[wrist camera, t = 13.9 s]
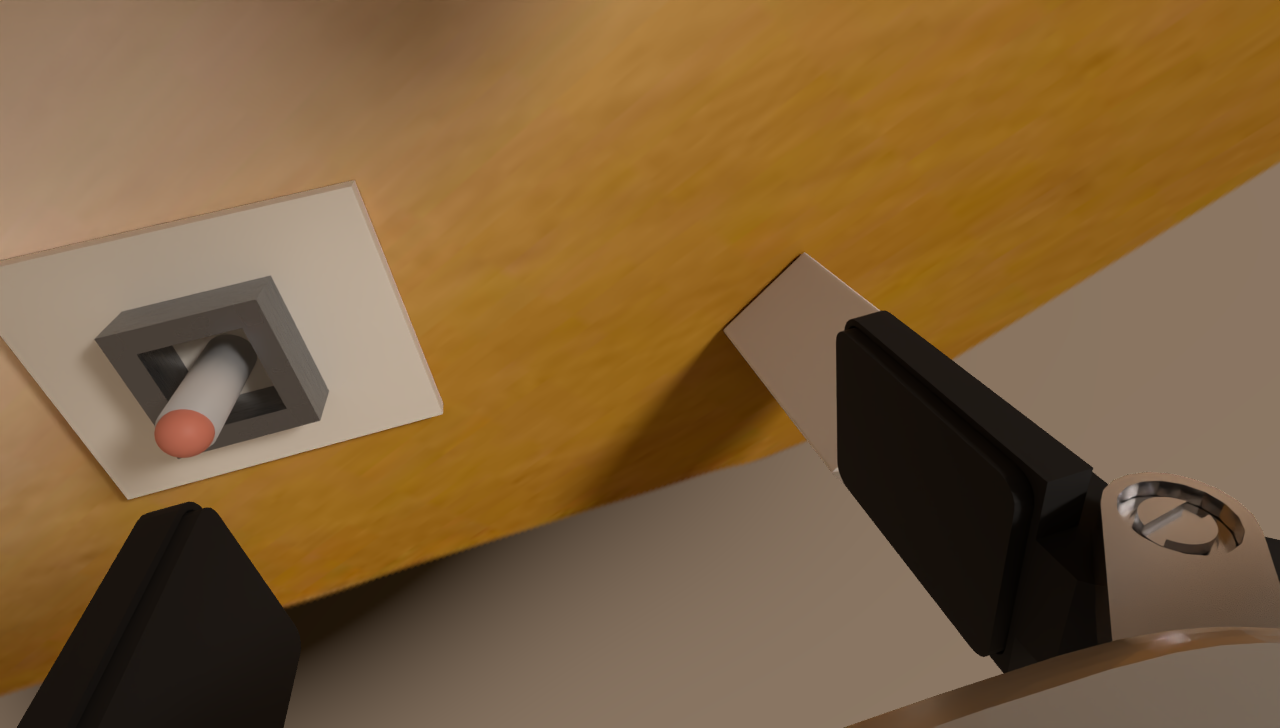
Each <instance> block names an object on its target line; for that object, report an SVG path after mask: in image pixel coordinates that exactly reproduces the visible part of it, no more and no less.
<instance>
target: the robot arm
mask: <svg viewBox="0 0 1280 728" xmlns="http://www.w3.org/2000/svg"><path fill="white" fill-rule="evenodd" d="M836 398H837V465H838V470H839V473H840V476H841V479H842V481H843V483H844V484H845V486H846V487H847V488H848V490H849V491H850V492H851V494H852V495H853V496H854V497H855V499H856V500H857V501H858V502H859V504H860V505H861V506H862V508H863V509H864V510H865V511H866V513H867V514H868V515H869V517H870V518H871V519H872V521H874V523H875V525H876V526H877V527H878V528H879V530H880V531H881V532H882V534H883V535H884V536H885V537H886V539H887V540H888V541H889V542H890V544H891V545H892V546H893V548H894V549H895V550H896V552H897V553H898V554H899V555H900V557H901V558H902V559H903V561H904V562H905V563H906V564H907V566H908V567H909V568H910V570H911V571H912V572H913V573H914V575H915V576H916V577H917V579H918V580H919V581H920V582H921V584H922V585H923V586H924V588H925V589H926V590H927V592H928V593H929V594H930V595H931V597H932V598H933V599H934V601H935V602H936V603H937V604H938V606H939V607H940V608H941V610H942V611H943V612H944V614H945V615H946V616H947V617H948V619H949V620H950V621H951V622H952V624H953V625H954V626H955V627H956V629H957V630H958V632H959V633H960V634H961V635H962V637H963V638H964V639H965V641H966V642H967V643H968V644H969V646H970V647H971V648H972V649H973V650H974V651H975V652H976V653H977V654H979V655H980V656H983V657H985V656H988V655H990V657H991V658H992V659H993V660H994V662H995V663H996V664H997V666H998V667H999V668H1000V669H1001V670H1002V672H1003V673H1004V674H1001V675H998V676H995V677H992V678H989V679H985V680H983V681H979V682H976V683H973V684H971V685H967V686H964V687H961V688H958V689H955V690H952V691H949V692H946V693H943V694H939V695H937V696H934V697H931V698H928V699H925V700H922V701H919V702H916V703H913V704H911V705H908V706H905V707H902V708H899V709H896V710H893V711H890V712H887V713H884V714H882V715H879V716H876V717H873V718H870V719H867V720H864V721H861V722H858V723H856V724H853V725H850V726H847V727H844V728H1280V540H1277V539H1272V538H1267V537H1265V536H1264V533H1263V530H1262V529H1261V527H1260V525H1259V524H1258V522H1257V520H1256V518H1255V517H1254V515H1253V514H1252V513H1251V512H1250V511H1249V510H1248V509H1246V508H1245V507H1244V506H1243V505H1242V504H1241V503H1240V502H1239V501H1238V500H1236V499H1234V498H1233V497H1231V496H1229V495H1228V494H1226V493H1224V492H1223V491H1221V490H1219V489H1218V488H1215V487H1212V486H1210V485H1208V484H1205V483H1203V482H1200V481H1198V480H1195V479H1192V478H1187V477H1183V476H1179V475H1174V474H1170V473H1156V472H1142V473H1134V474H1127V475H1124V476H1122V477H1120V478H1117V479H1115V480H1113V481H1112V482H1110V484H1109V485H1108V484H1107V483H1106V482H1104V481H1103V480H1102V479H1100V478H1099V477H1098V476H1097V475H1095V474H1094V473H1093V472H1092V470H1093V467H1091V466H1090V465H1089V464H1087V463H1086V462H1085V461H1083V460H1082V459H1081V458H1080V457H1078V456H1077V455H1076V454H1074V453H1073V452H1072V451H1070V450H1069V449H1068V448H1066V447H1065V446H1064V445H1063V444H1061V443H1060V442H1058V441H1057V440H1056V439H1054V438H1053V437H1052V436H1051V435H1049V434H1048V433H1047V432H1045V431H1044V430H1043V429H1042V428H1040V427H1039V426H1037V425H1036V424H1035V423H1034V422H1032V421H1031V420H1030V419H1028V418H1027V417H1026V416H1024V415H1023V414H1022V413H1021V412H1019V411H1018V410H1016V409H1015V408H1014V407H1013V406H1011V405H1010V404H1009V403H1007V402H1006V401H1005V400H1003V399H1002V398H1001V397H1000V396H998V395H997V394H996V393H994V392H993V391H992V390H990V389H989V388H987V387H986V386H985V385H984V384H982V383H981V382H980V381H979V380H977V379H976V378H975V377H973V376H972V375H971V374H969V373H968V372H967V371H965V370H964V369H963V368H962V367H960V366H959V365H958V364H956V363H955V362H954V361H952V360H951V359H950V358H948V357H947V356H946V355H945V354H943V353H942V352H941V351H939V350H938V349H937V348H935V347H934V346H933V345H931V344H930V343H929V342H927V341H926V340H925V339H924V338H922V337H921V336H920V335H918V334H917V333H916V332H914V331H913V330H912V329H910V328H909V327H908V326H906V325H905V324H904V323H903V322H901V321H900V320H899V319H897V318H896V317H895V316H893V315H892V314H891V313H889V312H887V311H878V312H875V313H871V314H868V315H864V316H860V317H857V318H853V319H850V320H848V321H847V322H846V325H845V329H844V331H841V332H839V333H838V334H837V337H836ZM300 651H301V642H300V636H299V633H298V630H297V628H296V626H295V624H294V623H293V622H292V620H291V619H290V617H289V616H288V614H287V613H286V611H285V610H284V609H283V607H282V606H281V604H280V603H279V601H278V600H277V598H276V597H275V596H274V594H273V593H272V591H271V590H270V588H269V587H268V585H267V584H266V583H265V581H264V580H263V578H262V577H261V575H260V574H259V572H258V571H257V570H256V568H255V567H254V565H253V564H252V562H251V561H250V559H249V558H248V557H247V555H246V554H245V552H244V551H243V549H242V548H241V546H240V545H239V543H238V542H237V541H236V539H235V538H234V536H233V535H232V533H231V532H230V530H229V529H228V528H227V526H226V525H225V523H224V522H223V520H222V519H221V517H220V516H219V515H218V513H217V512H216V511H215V510H213V509H212V508H203V509H202V507H201V506H200V505H198V504H196V503H194V502H186V503H182V504H179V505H175V506H171V507H168V508H164V509H160V510H157V511H153V512H150V513H147V514H145V515H142V516H141V517H140V519H139V520H138V521H137V523H136V524H135V526H134V528H133V529H132V531H131V533H130V535H129V536H128V538H127V540H126V541H125V543H124V545H123V547H122V548H121V550H120V552H119V553H118V555H117V557H116V559H115V560H114V562H113V564H112V565H111V567H110V569H109V571H108V572H107V574H106V576H105V577H104V579H103V581H102V583H101V584H100V586H99V588H98V589H97V591H96V593H95V595H94V596H93V598H92V600H91V601H90V603H89V605H88V607H87V608H86V610H85V612H84V613H83V615H82V617H81V619H80V620H79V622H78V624H77V625H76V627H75V629H74V631H73V632H72V634H71V636H70V637H69V639H68V641H67V643H66V644H65V646H64V648H63V649H62V651H61V653H60V654H59V656H58V658H57V660H56V661H55V663H54V665H53V666H52V668H51V670H50V672H49V673H48V675H47V677H46V678H45V680H44V682H43V684H42V685H41V687H40V689H39V690H38V692H37V694H36V696H35V697H34V699H33V701H32V702H31V704H30V706H29V708H28V709H27V711H26V713H25V715H24V716H23V718H22V720H21V721H20V723H19V725H18V726H17V728H283V727H284V722H285V719H286V714H287V710H288V705H289V701H290V696H291V692H292V688H293V683H294V679H295V675H296V670H297V665H298V661H299V657H300Z"/></svg>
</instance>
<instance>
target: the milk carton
mask: <svg viewBox="0 0 1280 728" xmlns="http://www.w3.org/2000/svg"><path fill="white" fill-rule="evenodd" d="M878 311H880V310H879V309H877V308H876V307H875V306H873V305H872V304H871V303H870V302H868V301H867V300H866V299H864V298H863V297H862V296H861V295H859V294H858V293H857V292H855V291H854V290H853V289H852V288H850V287H849V286H848V285H846V284H845V283H844V282H843V281H841V280H840V279H839V278H837V277H836V276H835V275H834V274H832V273H831V272H830V271H828V270H827V269H826V268H825V267H823V266H822V265H821V264H819V263H818V262H817V261H816V260H814V259H813V258H812V257H810V256H809V255H808V254H806V253H803V254H802V255H801V256H800V257H798V258H797V259H796V260H795V261H794V262H793V263H792V264H791V265H790V266H789V267H788V268H787V269H786V270H785V271H784V272H783V273H782V274H781V275H780V276H779V277H778V278H777V279H776V280H774V281H773V282H772V283H771V284H770V285H769V286H768V287H767V288H766V289H765V290H764V291H763V292H762V293H761V294H760V295H759V296H758V297H757V298H756V299H755V300H754V301H753V302H752V303H751V304H750V305H748V306H747V307H746V308H745V309H744V310H743V311H742V312H741V313H740V314H739V315H738V316H737V317H736V318H735V319H734V320H733V321H732V322H731V323H730V324H729V325H728V326H727V327H726V328H725V329H724V330H723V331H724V333H725V334H726V335H727V337H728V338H729V339H730V340H731V342H732V343H733V344H734V346H735V347H736V348H737V350H738V351H739V352H740V354H741V355H742V356H743V357H744V359H745V360H746V361H747V363H748V364H749V365H750V367H751V368H752V369H753V370H754V372H755V373H756V374H757V376H758V377H759V378H760V380H761V381H762V382H763V384H764V385H765V386H766V387H767V389H768V390H769V391H770V393H771V394H772V395H773V397H774V398H775V399H776V400H777V402H778V403H779V404H780V406H781V407H782V408H783V410H784V411H785V412H786V414H787V415H788V416H789V417H790V419H791V420H792V421H793V423H794V424H795V425H796V427H797V428H798V429H799V431H800V432H801V433H802V434H803V436H804V437H805V438H806V440H807V441H808V442H809V444H810V445H811V446H812V447H813V449H814V450H815V451H816V452H817V454H818V455H819V456H820V458H821V459H822V460H823V462H824V463H825V464H826V466H827V467H828V468H829V470H830V471H831V472H832V473H833V475H835V476H836V477H837V478H838V479H839V480H840V481H841V482H842V483H843V481H842V479H841V476H840V473H839V470H838V465H837V398H836V337H837V334H838V333H839V332H841V331H844V329H845V325H846V322H847V321H848V320H850V319H853V318H857V317H860V316H864V315H868V314H871V313H875V312H878Z"/></svg>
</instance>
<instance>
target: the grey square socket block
mask: <svg viewBox="0 0 1280 728" xmlns="http://www.w3.org/2000/svg"><path fill="white" fill-rule="evenodd" d="M240 328H242V329H243V331H244V332H245V334H246V336H247V338H248V340H249V341H250V343H251V345H252V347H253V349H254V350H255V352H256V354H257V356H258V358H259V359H260V361H261V363H262V365H263V367H264V369H265V370H266V372H267V374H268V376H269V378H270V379H271V381H272V383H273V385H274V386H270V387H267V388H263V389H259V390H255V391H251V392H247V393H244V394H240V395H239V397H238V399H237V401H236V403H235V405H234V406H233V408H232V410H231V412H230V414H229V416H228V418H227V420H226V422H225V424H224V426H223V428H222V430H221V432H220V434H219V436H218V438H217V439H216V441H215V442H214V444H213V445H211V446H210V447H209V448H207V449H206V450H205V451H204V452H206V451H210V450H214V449H217V448H221V447H225V446H228V445H232V444H236V443H240V442H243V441H247V440H251V439H254V438H258V437H262V436H265V435H269V434H273V433H277V432H280V431H284V430H288V429H291V428H295V427H299V426H303V425H306V424H310V423H314V422H317V421H320V420H321V417H322V413H323V410H324V407H325V403H326V400H327V397H328V393H329V390H328V388H327V386H326V384H325V382H324V380H323V378H322V376H321V374H320V372H319V370H318V368H317V366H316V364H315V362H314V360H313V358H312V356H311V354H310V352H309V350H308V348H307V346H306V344H305V342H304V340H303V338H302V336H301V334H300V332H299V330H298V328H297V326H296V324H295V322H294V320H293V318H292V316H291V314H290V312H289V310H288V308H287V306H286V305H285V303H284V301H283V299H282V297H281V295H280V293H279V291H278V289H277V287H276V285H275V283H274V281H273V279H272V277H271V275H270V276H266V277H262V278H258V279H254V280H250V281H246V282H242V283H237V284H233V285H229V286H225V287H221V288H217V289H213V290H209V291H204V292H200V293H196V294H192V295H188V296H184V297H180V298H176V299H172V300H167V301H163V302H159V303H155V304H151V305H147V306H143V307H139V308H134V309H130V310H126V311H122V312H121V313H120V314H119V315H118V316H117V317H116V318H115V319H114V320H113V321H112V322H111V323H110V324H109V325H108V326H107V327H106V328H105V329H104V330H103V331H102V332H101V333H100V334H99V335H98V336H97V337H96V338H95V339H94V340H95V341H96V342H97V344H98V345H99V347H100V348H101V350H102V351H103V353H104V354H105V355H106V357H107V358H108V360H109V361H110V363H111V364H112V365H113V367H114V368H115V370H116V371H117V373H118V374H119V375H120V377H121V378H122V380H123V381H124V383H125V384H126V386H127V387H128V388H129V390H130V391H131V393H132V394H133V396H134V397H135V398H136V400H137V401H138V403H139V404H140V406H141V407H142V408H143V410H144V411H145V413H146V414H147V416H148V417H149V418H150V420H151V421H152V423H153V424H154V426H155V422H156V420H157V418H158V416H159V415H160V413H161V412H162V410H163V409H164V407H165V406H166V404H167V403H168V402H169V400H170V399H171V397H172V396H173V394H174V393H175V391H176V390H177V388H178V387H179V385H180V384H181V382H182V381H183V379H184V378H185V376H186V375H187V373H188V372H189V371H188V370H187V368H186V367H185V365H184V363H183V362H182V360H181V359H180V357H179V355H178V354H177V352H176V351H175V349H174V347H173V346H172V345H176V344H180V343H184V342H188V341H192V340H196V339H200V338H204V337H208V336H212V335H216V334H220V333H224V332H228V331H232V330H236V329H240ZM177 459H180V458H178V457H177Z"/></svg>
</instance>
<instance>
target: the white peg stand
mask: <svg viewBox="0 0 1280 728" xmlns="http://www.w3.org/2000/svg"><path fill="white" fill-rule="evenodd" d="M270 275H271V277H272V279H273V281H274V283H275V285H276V287H277V289H278V291H279V293H280V295H281V297H282V299H283V301H284V303H285V305H286V306H287V308H288V310H289V312H290V314H291V316H292V318H293V320H294V322H295V324H296V326H297V328H298V330H299V332H300V334H301V336H302V338H303V340H304V342H305V344H306V346H307V348H308V350H309V352H310V354H311V356H312V358H313V360H314V362H315V364H316V366H317V368H318V370H319V372H320V374H321V376H322V378H323V380H324V382H325V384H326V386H327V388H328V390H329V393H328V397H327V400H326V403H325V407H324V410H323V413H322V417H321V420H320V421H317V422H314V423H310V424H306V425H303V426H299V427H295V428H291V429H288V430H284V431H280V432H277V433H273V434H269V435H265V436H262V437H258V438H254V439H251V440H247V441H243V442H240V443H236V444H232V445H228V446H225V447H221V448H217V449H214V450H210V451H206V452H204V451H205V450H206V449H207V448H209V447H210V446H211V445H213V444H214V442H215V441H216V439H217V438H218V436H219V434H220V432H221V430H222V428H223V426H224V424H225V422H226V420H227V418H228V416H229V414H230V412H231V410H232V408H233V406H234V405H235V403H236V401H237V399H238V397H239V395H240V394H244V393H247V392H251V391H255V390H259V389H263V388H267V387H270V386H274V385H273V383H272V381H271V379H270V378H269V376H268V374H267V372H266V370H265V369H264V367H263V365H262V363H261V361H260V359H259V358H258V356H257V354H256V352H255V350H254V349H253V347H252V345H251V343H250V341H249V340H248V338H247V336H246V334H245V332H244V331H243V329H242V328H240V329H236V330H232V331H228V332H224V333H220V334H216V335H212V336H208V337H204V338H200V339H196V340H192V341H188V342H184V343H180V344H176V345H172V346H173V347H174V349H175V351H176V352H177V354H178V355H179V357H180V359H181V360H182V362H183V363H184V365H185V367H186V368H187V370H188V371H189V372H188V373H187V375H186V376H185V378H184V379H183V381H182V382H181V384H180V385H179V387H178V388H177V390H176V391H175V393H174V394H173V396H172V397H171V399H170V400H169V402H168V403H167V404H166V406H165V407H164V409H163V410H162V412H161V413H160V415H159V416H158V418H157V420H156V422H155V426H154V424H153V423H152V421H151V420H150V418H149V417H148V416H147V414H146V413H145V411H144V410H143V408H142V407H141V406H140V404H139V403H138V401H137V400H136V398H135V397H134V396H133V394H132V393H131V391H130V390H129V388H128V387H127V386H126V384H125V383H124V381H123V380H122V378H121V377H120V375H119V374H118V373H117V371H116V370H115V368H114V367H113V365H112V364H111V363H110V361H109V360H108V358H107V357H106V355H105V354H104V353H103V351H102V350H101V348H100V347H99V345H98V344H97V342H96V341H95V340H94V339H95V338H96V337H97V336H98V335H99V334H100V333H101V332H102V331H103V330H104V329H105V328H106V327H107V326H108V325H109V324H110V323H111V322H112V321H113V320H114V319H115V318H116V317H117V316H118V315H119V314H120V313H121V312H122V311H126V310H130V309H134V308H139V307H143V306H147V305H151V304H155V303H159V302H163V301H167V300H172V299H176V298H180V297H184V296H188V295H192V294H196V293H200V292H204V291H209V290H213V289H217V288H221V287H225V286H229V285H233V284H237V283H242V282H246V281H250V280H254V279H258V278H262V277H266V276H270ZM0 336H1V337H2V339H3V340H4V341H5V342H6V344H7V345H8V346H9V348H10V349H11V350H12V351H13V353H14V354H15V355H16V357H17V358H18V359H19V360H20V362H21V363H22V364H23V365H24V367H25V368H26V369H27V371H28V372H29V373H30V374H31V376H32V377H33V378H34V380H35V381H36V382H37V383H38V385H39V386H40V387H41V389H42V390H43V391H44V392H45V394H46V395H47V396H48V398H49V399H50V400H51V401H52V403H53V404H54V405H55V407H56V408H57V409H58V410H59V412H60V413H61V414H62V416H63V417H64V418H65V419H66V421H67V422H68V423H69V425H70V426H71V427H72V428H73V430H74V431H75V432H76V434H77V435H78V436H79V437H80V439H81V440H82V441H83V443H84V444H85V445H86V446H87V448H88V449H89V450H90V452H91V453H92V454H93V455H94V457H95V458H96V459H97V461H98V462H99V463H100V464H101V466H102V467H103V468H104V470H105V471H106V472H107V473H108V475H109V476H110V477H111V479H112V480H113V481H114V482H115V484H116V485H117V486H118V488H119V489H120V490H121V491H122V493H123V494H124V495H125V497H126V498H127V499H128V500H129V499H133V498H137V497H140V496H144V495H148V494H151V493H155V492H159V491H162V490H166V489H170V488H173V487H177V486H181V485H184V484H188V483H192V482H195V481H199V480H203V479H206V478H210V477H214V476H217V475H221V474H225V473H228V472H232V471H236V470H239V469H243V468H247V467H250V466H254V465H258V464H261V463H265V462H269V461H272V460H276V459H280V458H283V457H287V456H291V455H294V454H298V453H302V452H305V451H309V450H313V449H316V448H320V447H324V446H327V445H331V444H335V443H338V442H342V441H346V440H349V439H353V438H357V437H360V436H364V435H368V434H371V433H375V432H379V431H382V430H386V429H390V428H393V427H397V426H401V425H404V424H408V423H412V422H415V421H419V420H423V419H426V418H430V417H434V416H437V415H441V414H443V402H442V399H441V397H440V394H439V392H438V389H437V387H436V384H435V381H434V379H433V376H432V374H431V371H430V369H429V366H428V364H427V361H426V359H425V356H424V354H423V351H422V349H421V346H420V344H419V341H418V339H417V336H416V334H415V331H414V329H413V326H412V323H411V321H410V318H409V316H408V313H407V311H406V308H405V306H404V303H403V301H402V298H401V296H400V293H399V291H398V288H397V286H396V283H395V281H394V278H393V276H392V273H391V271H390V268H389V265H388V263H387V260H386V258H385V255H384V253H383V250H382V248H381V245H380V243H379V240H378V238H377V235H376V233H375V230H374V228H373V225H372V223H371V220H370V218H369V215H368V213H367V210H366V207H365V205H364V202H363V200H362V197H361V195H360V192H359V190H358V187H357V185H356V182H355V180H352V181H348V182H344V183H339V184H335V185H330V186H326V187H322V188H317V189H313V190H309V191H304V192H300V193H295V194H291V195H287V196H282V197H278V198H273V199H269V200H265V201H260V202H256V203H251V204H247V205H243V206H238V207H234V208H229V209H225V210H221V211H216V212H212V213H208V214H203V215H199V216H194V217H190V218H186V219H181V220H177V221H172V222H168V223H164V224H159V225H155V226H150V227H146V228H142V229H137V230H133V231H129V232H124V233H120V234H115V235H111V236H107V237H102V238H98V239H93V240H89V241H85V242H80V243H76V244H71V245H67V246H63V247H58V248H54V249H49V250H45V251H41V252H36V253H32V254H28V255H23V256H19V257H14V258H10V259H6V260H1V261H0ZM177 457H178V458H180V459H177Z"/></svg>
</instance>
